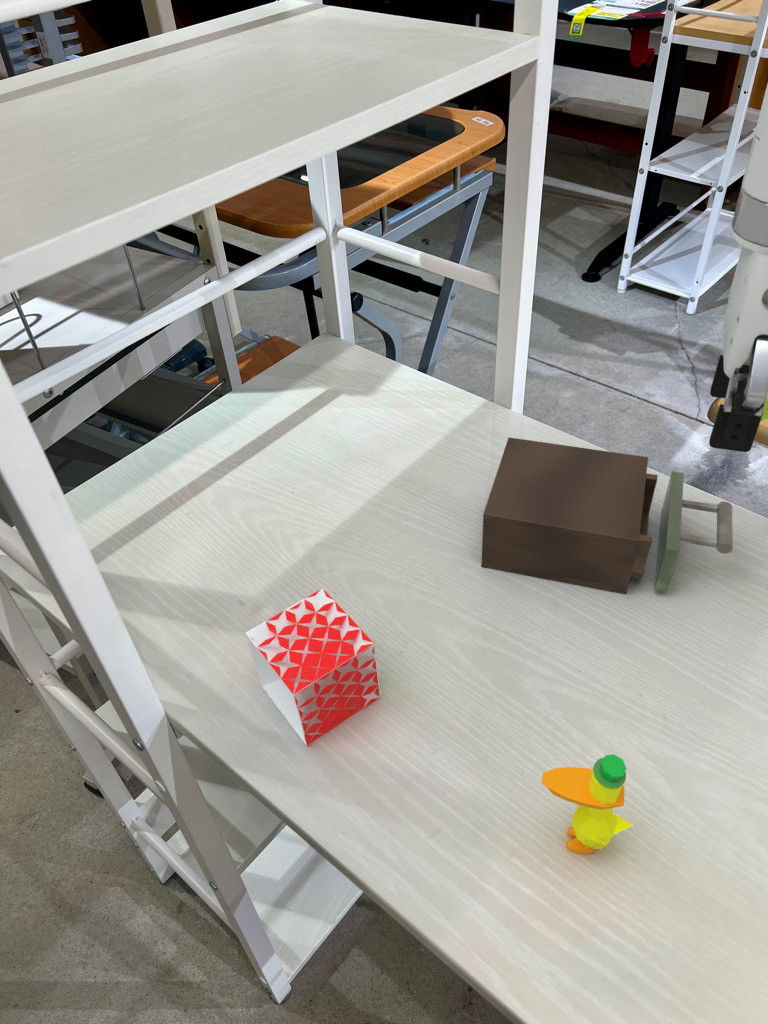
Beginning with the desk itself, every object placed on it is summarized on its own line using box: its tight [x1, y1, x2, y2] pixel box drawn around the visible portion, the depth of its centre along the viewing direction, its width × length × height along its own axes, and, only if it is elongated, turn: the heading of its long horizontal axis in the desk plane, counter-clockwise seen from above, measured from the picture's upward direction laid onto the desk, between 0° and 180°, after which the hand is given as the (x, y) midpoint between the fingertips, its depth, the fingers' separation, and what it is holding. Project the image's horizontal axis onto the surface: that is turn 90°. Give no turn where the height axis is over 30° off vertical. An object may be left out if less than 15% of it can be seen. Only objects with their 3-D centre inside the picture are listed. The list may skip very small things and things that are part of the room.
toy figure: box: [541, 754, 634, 855], centre depth 53 cm, size 7×4×12 cm, turn 76°
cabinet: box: [480, 436, 649, 595], centre depth 77 cm, size 15×13×8 cm
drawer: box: [630, 471, 734, 592], centre depth 76 cm, size 18×11×6 cm, turn 72°
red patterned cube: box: [245, 587, 382, 748], centre depth 65 cm, size 8×8×8 cm
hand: (728, 420), depth 65 cm, fingers open, 6 cm apart
